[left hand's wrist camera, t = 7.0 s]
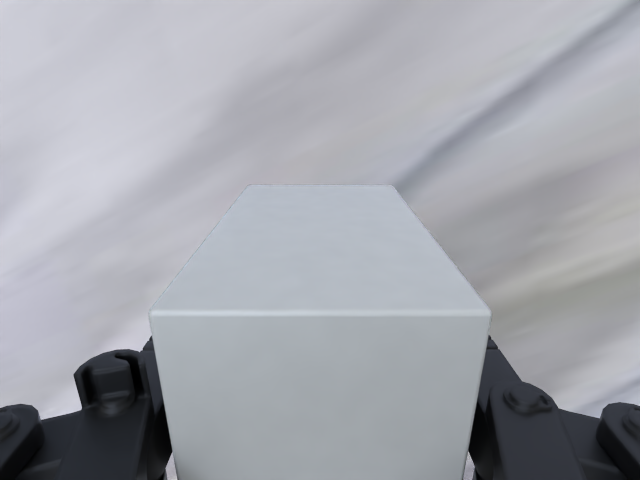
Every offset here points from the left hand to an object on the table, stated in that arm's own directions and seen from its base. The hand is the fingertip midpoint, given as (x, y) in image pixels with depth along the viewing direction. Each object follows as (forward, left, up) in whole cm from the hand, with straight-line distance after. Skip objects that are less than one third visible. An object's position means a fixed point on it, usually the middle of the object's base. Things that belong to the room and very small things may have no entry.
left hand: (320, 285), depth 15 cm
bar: (-7, +7, -1) cm, 10 cm away
